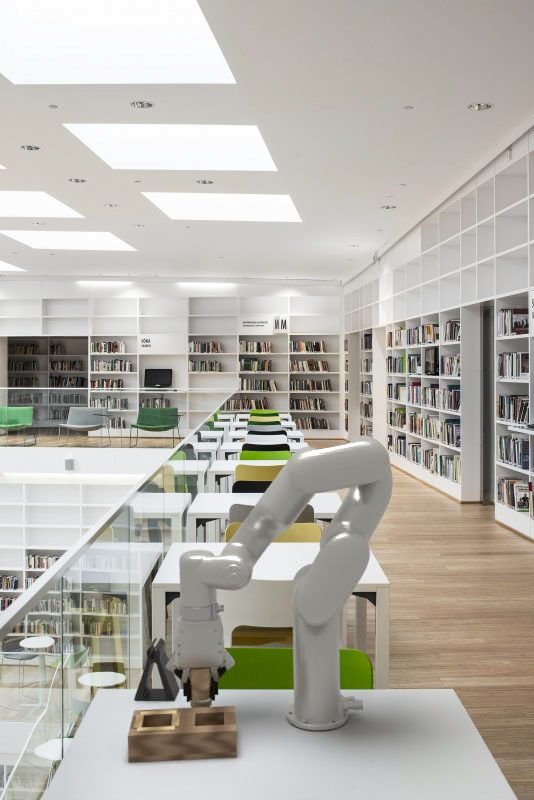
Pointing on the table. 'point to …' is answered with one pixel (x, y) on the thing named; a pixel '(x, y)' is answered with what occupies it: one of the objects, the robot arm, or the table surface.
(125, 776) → the table surface
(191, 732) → the board
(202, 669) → the peg
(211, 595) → the robot arm
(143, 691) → the phone stand
